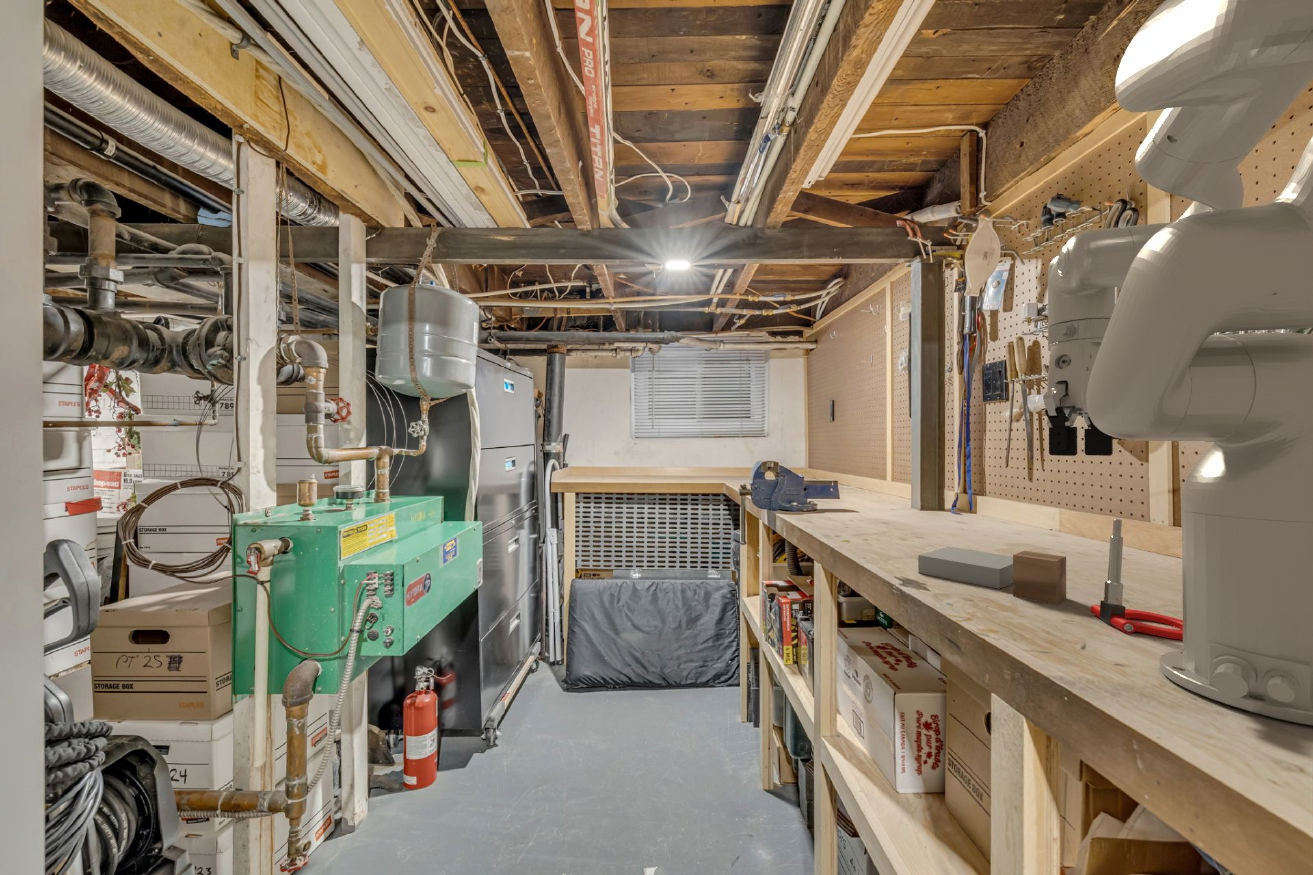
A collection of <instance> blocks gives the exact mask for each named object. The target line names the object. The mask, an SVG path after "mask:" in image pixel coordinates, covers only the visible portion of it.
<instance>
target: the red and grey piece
mask: <svg viewBox="0 0 1313 875" xmlns="http://www.w3.org/2000/svg"><path fill="white" fill-rule="evenodd" d="M1112 521H1113V522H1112V535H1110V536H1109V552H1108V554H1109V555H1108V569H1107V580H1105V582H1104V590H1103V591H1104V592H1103V593H1104V594H1103V600H1101V599H1100V604H1093V605H1091V607H1090V608H1089V610H1090V612H1091V614H1093V615H1094V616H1096V617H1097V618H1099V619H1100V620H1101V621H1103V622H1104V623H1106V624H1108V625H1109V624H1110V625H1109V626H1112V627H1113V626H1115V627H1114V628H1116V629H1118V630H1120V631H1121V632H1123V633H1125V634H1128V633H1130V635H1132V634H1134V633H1135V632H1139V633H1144V634H1148V635H1152V636H1156V637H1162V638H1167V639H1172V640H1173V639H1174V640H1178V639H1179V640H1180V641H1183V619H1180V618H1177V617H1176V618H1175V617H1173V616H1168V615H1164V614H1160V613H1154V612H1150V611H1144V610H1137V609H1129V608H1126V606H1125V605H1123V598H1124V597H1123V596H1124V594H1123V593H1124V585H1123V583H1122V563H1123V550H1124V549H1123V546H1124V537H1123V536H1122V526H1123V520H1122V519H1118V518H1114V519H1113V520H1112ZM1131 619H1136V620H1137V621H1136V620H1131ZM1138 620H1143V621H1150V622H1153V623H1160V624H1163V623H1164V624H1163V625H1167V624H1168V625H1167V626H1170V625H1171V626H1170V627H1173V626H1175V627H1174V628H1167V627H1161V626H1157V625H1151V624H1148V623H1143V622H1141V621H1138ZM1176 627H1177V629H1175V628H1176ZM1179 628H1180V629H1179ZM1179 640H1178V641H1179Z"/></svg>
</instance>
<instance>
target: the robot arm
mask: <svg viewBox="0 0 1313 875" xmlns="http://www.w3.org/2000/svg"><path fill="white" fill-rule="evenodd" d="M1118 66H1119V67H1118V69H1117V73H1116V77H1115V81H1114V82H1115V84H1114V94H1115V100H1116V101H1117V104H1118V105H1119V107H1120V108H1122V109H1123V110H1124V111H1127V112H1129V113H1147V112H1148V113H1149V112H1155V111H1161V110H1163V111H1162V112H1161V113H1160V115H1159V116H1158V118H1157V120H1156V122H1154V124H1153V126H1152V127H1151V129H1150V130H1149V132H1148V134H1147V136H1146V137H1145V138H1144V140H1143V141H1142V143H1141V144H1140V146H1139V147H1138V149H1137V151H1136V154H1135V157H1134V167H1135V170H1136V173H1137V174H1138V176H1139V178H1141V180H1142V181H1144V182H1145V183H1147V184H1148V185H1150V186H1152V187H1153V188H1156V189H1157V190H1159V191H1162V192H1165V193H1167V194H1171V195H1174V196H1177V197H1181V198H1184V199H1187V200H1190V201H1192V202H1191V204H1190V205H1189V207H1188V208H1187V209H1186V210H1185V211H1184V212H1183V214H1181V216H1180V217H1179V218H1178V219H1177V220H1175V221H1172V222H1162V223H1160V222H1159V223H1149V224H1148V223H1147V224H1139V225H1138V224H1137V225H1129V226H1127V225H1126V226H1119V227H1109V228H1099V229H1091V230H1084V231H1082V232H1079V233H1076V234H1074V235H1073V236H1071V238H1069V239H1068V240H1067V241H1066V243H1065V245H1064V246H1062V248H1061V249H1060V251H1059V253H1058V255H1057V256H1055V257H1054V258H1053V259H1051V261H1050V262H1049V265H1048V268H1047V350H1048V351H1049V352H1050V354H1049V359H1048V360H1049V361H1048V369H1047V371H1048V372H1047V392H1045V393H1044V394H1043V395H1042V399H1043V403H1044V407H1045V410H1044V412H1045V416H1046V417H1047V420H1046V425H1047V427H1048V454H1049V455H1050V456H1058V457H1059V456H1060V457H1061V456H1064V457H1065V456H1067V457H1073V456H1074V457H1075V456H1077V455H1078V426H1074V425H1075V422H1076V420H1077V418H1078V417H1079V416H1082V417H1083V419H1084V422H1085V424H1086V426H1087V428H1084V455H1086V456H1103V457H1105V456H1107V457H1109V456H1112V455H1113V452H1114V451H1113V449H1114V448H1113V439H1114V438H1116V439H1122V440H1128V441H1139V442H1140V441H1141V442H1142V441H1143V442H1146V441H1147V442H1150V441H1151V442H1205V443H1206V442H1207V443H1212V445H1210V447H1209V448H1208V450H1207V451H1206V452H1204V454H1203V456H1202V457H1201V458H1200V459H1199V460H1198V461H1197V462H1196V464H1195V465H1194V466H1193V468H1192V469H1191V470H1190V472H1189V473H1188V475H1187V477H1186V479H1185V482H1184V484H1183V488H1182V492H1181V493H1182V495H1181V544H1182V545H1181V548H1182V549H1181V552H1182V553H1181V554H1182V555H1181V556H1182V558H1181V560H1182V562H1181V563H1182V566H1181V567H1182V569H1181V570H1182V574H1181V577H1182V579H1181V580H1182V581H1181V582H1182V586H1181V587H1182V592H1181V594H1182V620H1183V640H1182V650H1175V651H1169V652H1165V653H1163V654H1161V655H1160V657H1159V669H1160V671H1161V673H1162V674H1163V675H1165V676H1166V677H1167V678H1168V679H1169V680H1171V681H1172V682H1174V683H1175V684H1177V685H1179V686H1181V687H1182V688H1185V689H1186V690H1189V691H1191V692H1192V693H1195V694H1198V695H1201V696H1203V697H1205V698H1208V699H1211V700H1213V701H1217V702H1219V703H1221V704H1225V705H1228V706H1231V707H1233V708H1237V709H1241V710H1244V711H1246V712H1251V713H1254V714H1259V715H1261V716H1266V717H1269V718H1273V719H1278V720H1282V721H1285V722H1286V721H1287V722H1292V723H1296V724H1302V725H1307V726H1312V727H1313V334H1309V333H1301V332H1300V333H1298V332H1258V333H1257V332H1256V333H1255V331H1271V330H1272V331H1275V330H1276V331H1279V330H1295V329H1296V330H1298V329H1312V328H1313V135H1312V136H1311V138H1310V139H1309V141H1308V142H1307V145H1306V146H1305V149H1304V150H1303V153H1302V154H1301V157H1300V159H1299V161H1298V163H1297V166H1296V168H1295V170H1294V172H1293V174H1292V175H1291V177H1290V179H1289V181H1288V182H1287V184H1286V186H1285V188H1284V189H1283V190H1282V192H1281V193H1280V194H1279V195H1278V196H1277V197H1276V198H1275V199H1274V200H1272V201H1270V202H1269V203H1267V204H1264V205H1256V206H1254V205H1253V206H1244V207H1243V204H1244V198H1245V197H1244V196H1245V195H1244V193H1245V191H1244V190H1245V189H1244V183H1243V179H1242V175H1241V174H1240V170H1239V169H1238V166H1239V165H1240V164H1242V162H1243V161H1244V159H1246V157H1247V156H1248V155H1249V154H1251V152H1252V151H1253V150H1254V149H1255V147H1257V145H1258V144H1259V142H1260V141H1261V140H1262V139H1263V138H1264V137H1265V136H1266V134H1267V133H1268V132H1269V131H1270V130H1271V128H1272V127H1274V125H1275V124H1276V123H1277V122H1278V120H1279V119H1280V118H1281V117H1283V114H1285V112H1286V111H1288V109H1289V108H1290V106H1291V105H1292V104H1293V103H1294V102H1295V101H1296V100H1297V99H1298V97H1300V95H1301V94H1302V93H1303V92H1304V90H1306V88H1307V87H1308V86H1309V85H1310V84H1311V82H1312V81H1313V0H1164V1H1163V2H1162V3H1161V4H1160V5H1159V6H1158V7H1157V8H1156V9H1155V10H1154V11H1153V13H1151V15H1150V16H1148V18H1147V19H1146V20H1145V22H1144V23H1143V24H1142V25H1141V27H1139V29H1138V31H1137V32H1136V34H1134V35H1133V38H1132V39H1131V41H1130V43H1129V45H1128V46H1127V48H1126V50H1125V53H1124V54H1123V57H1122V58H1121V60H1120V64H1119V65H1118ZM1116 288H1120V292H1119V294H1118V297H1117V299H1116ZM1248 331H1249V332H1251V331H1252V332H1254V333H1236V334H1235V333H1233V332H1248ZM1227 332H1228V333H1229V332H1230V333H1231V332H1232V333H1233V334H1230V333H1229V334H1217V333H1227Z"/></svg>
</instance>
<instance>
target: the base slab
mask: <svg viewBox="0 0 1313 875" xmlns="http://www.w3.org/2000/svg"><path fill="white" fill-rule="evenodd" d="M917 556H918V559H917V560H918V562H917V563H918V569H917V570H918V571H917V572H918V574H922V575H927V576H932V577H938V578H943V579H947V580H953V581H957V582H963V583H968V584H973V585H979V586H982V587H983V586H984V587H988V588H992V587H993V588H994V589H1000V588H1001V589H1003V588H1005V587H1007V586H1008V585H1012V584H1013V583H1012V582H1013V555H1012V556H1011V555H1004V554H999V553H992V552H984V551H978V550H973V549H972V550H971V549H967V548H966V549H965V548H958V547H951V546H947V547H946V546H945V547H942V548H940V549H936V550H931V551H929V552H925V553H921V554H919V555H918V554H917ZM1002 587H1003V588H1002ZM993 588H992V589H993Z"/></svg>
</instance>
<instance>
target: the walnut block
mask: <svg viewBox="0 0 1313 875" xmlns="http://www.w3.org/2000/svg"><path fill="white" fill-rule="evenodd" d="M1012 557H1013V583H1012V597H1015V596H1016V597H1015V598H1020V599H1024V598H1026V599H1025V600H1030V601H1034V600H1036V601H1035V602H1041V603H1044V602H1045V603H1046V604H1050V605H1055V606H1056V605H1059V604H1060V603H1062V602H1063V601H1064V600H1066V599H1067V556H1066V555H1059V554H1051V553H1044V552H1036V551H1029V550H1022V551H1020V552H1017V553H1014V554H1012ZM1045 603H1044V604H1045Z"/></svg>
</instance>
